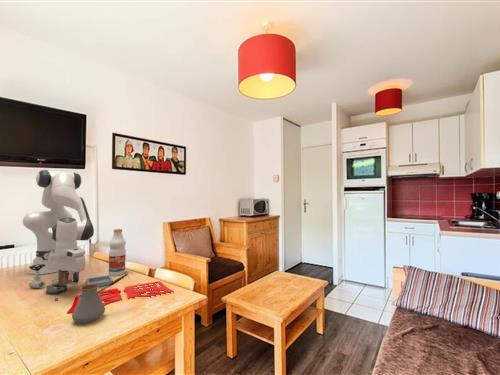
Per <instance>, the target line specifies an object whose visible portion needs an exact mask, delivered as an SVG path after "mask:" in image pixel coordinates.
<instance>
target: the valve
mask: <svg viewBox="0 0 500 375" xmlns="http://www.w3.org/2000/svg"><path fill="white" fill-rule="evenodd" d="M43 266H44V267H45V265H44V264H41V265H39V264H37V265H33V264H32V265H29V267H28V268H29V269H30V270H35V271H36V272H35V274H34V277H33V279H31V280H30V281H29V283H28V287H30V288H32V289H43V288H44V287H45V286H46V282H45V281H43V280H40V279H41V276H40V274H39V272H38V271H39V270H40V269H41V268H43ZM33 268H35V269H33Z"/></svg>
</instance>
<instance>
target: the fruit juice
mask: <svg viewBox="0 0 500 375" xmlns="http://www.w3.org/2000/svg"><path fill="white" fill-rule="evenodd" d="M122 232H123V229H121V228H116V229H113V235H112V238H111V240H110V241H109V251H108V275H111V277H116V276H123V275H125V274H126V256H127V255H126V248H125V247H126V240H125V238H124V236H123V233H122Z"/></svg>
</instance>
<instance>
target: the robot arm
mask: <svg viewBox="0 0 500 375" xmlns="http://www.w3.org/2000/svg"><path fill="white" fill-rule="evenodd" d="M81 176H82V175H80V174H79V173H76V172H69V171H65V170H48V169H42V170H39V171H38V173H37V174H36V177H35V181H36V184H37V186H38V187H40V188H43V192H42V197H41V204H42V205H43V206H44V207H45V208H47V209H50V210H49V211H46V210H45V211H33V212H29V213H26V214H25V215H24V216H23V219H22V224H23V226H24V227H25V228H26V229H27V230H29V231H31V232H32V233H33V234H34V235H35V238H36V249H37V250H36V252H35V256H36V257H35V258H34V259H33V260H32V265H37V264H39V265H41V264H44V265H45V267H44V266H43V268H41V269H40V270H39V271H38V272H39V275H49V274H53V273H56V274H57V275H58V273H59V272H60V271H63V270H65V271H69V273H70V274H69V276H67V280H71V279H72V280H73V274H74V273H75V272H79V273H80V272H82V271H84V270H86V269H85V268H86V256H85V255H86V250H85V249H83V248H81V247H80V246H78V241H88V240H90V239H91V238H92V237H93V236H94V234H95V228H94V226H93V223H92V220H91V218H90V214H89V212H88V208H87V206H86V203H85V201H84V199H83V197H82V196H79V194H78V192H76V189H79V188H80V186H81V185H82V177H81ZM65 207H67V208H70V209H73V210H75V211H77V213H78V216H79V220H80V222H78V221H77V219H76V218H74V217H73V215H72V214H71V212H70V211H68V210H67V209H66V208H65ZM49 229H51V232H50V231H49ZM33 269H35V268H33ZM35 272H36V271H35V270H32V269H30V270H29V271H28V273H27V274H29V275H35Z"/></svg>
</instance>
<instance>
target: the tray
mask: <svg viewBox="0 0 500 375" xmlns="http://www.w3.org/2000/svg"><path fill="white" fill-rule="evenodd" d="M112 277H113V276H111V275H109V274H107V275H102V276H96V277H90V278H89V277H88V278H86V279H85V284H86V285H85V286H87V285H98V286H99V287H98V288H97V289H100V288H104V287H106V286H108V285H109V284H110V283H112V282H113V281H114V278H112Z"/></svg>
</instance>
